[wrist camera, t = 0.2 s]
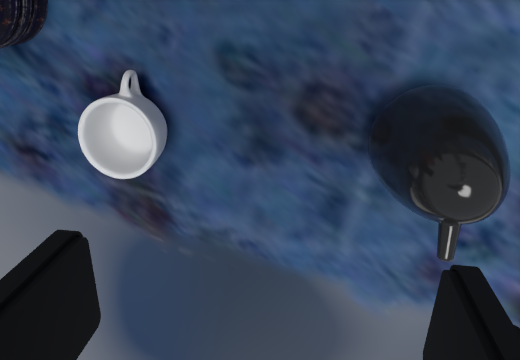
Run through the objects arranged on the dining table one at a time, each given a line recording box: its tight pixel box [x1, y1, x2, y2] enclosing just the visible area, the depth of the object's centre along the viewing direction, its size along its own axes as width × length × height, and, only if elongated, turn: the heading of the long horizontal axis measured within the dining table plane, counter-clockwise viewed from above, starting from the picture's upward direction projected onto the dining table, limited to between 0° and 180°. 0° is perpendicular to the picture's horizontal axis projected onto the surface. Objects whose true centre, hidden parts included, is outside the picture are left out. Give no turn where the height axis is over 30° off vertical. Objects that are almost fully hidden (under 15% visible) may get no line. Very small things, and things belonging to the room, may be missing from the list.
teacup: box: [78, 70, 167, 179], centre depth 40 cm, size 10×8×5 cm
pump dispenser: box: [368, 85, 510, 262], centre depth 33 cm, size 10×10×15 cm
